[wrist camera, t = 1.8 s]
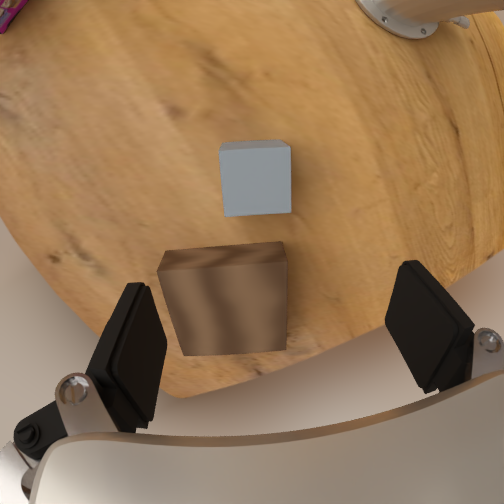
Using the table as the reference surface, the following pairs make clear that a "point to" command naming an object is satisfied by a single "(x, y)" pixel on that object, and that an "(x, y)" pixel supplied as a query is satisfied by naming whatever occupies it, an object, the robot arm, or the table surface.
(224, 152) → the slate cube
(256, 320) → the walnut block
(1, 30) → the candy bar box
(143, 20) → the table surface
